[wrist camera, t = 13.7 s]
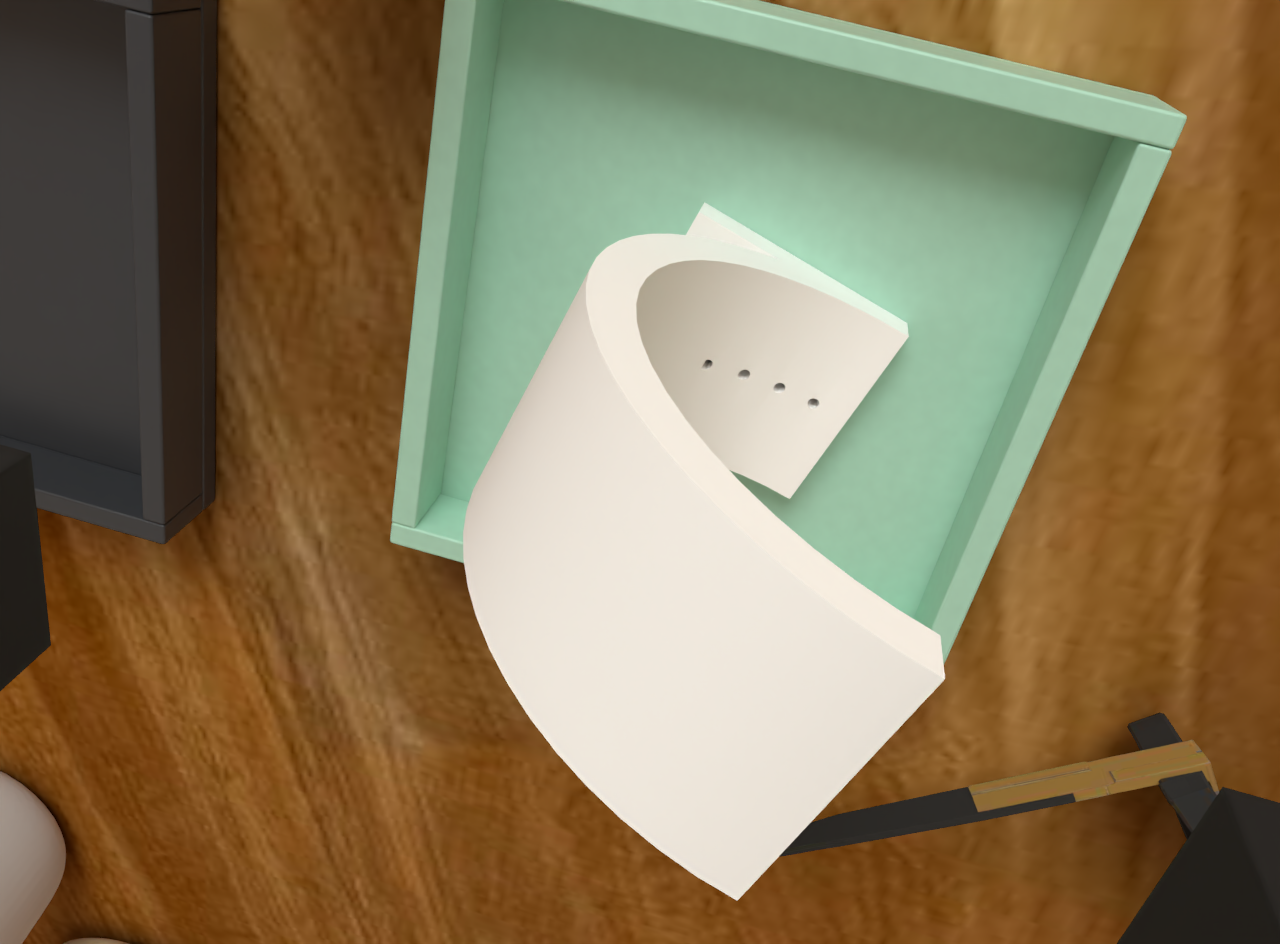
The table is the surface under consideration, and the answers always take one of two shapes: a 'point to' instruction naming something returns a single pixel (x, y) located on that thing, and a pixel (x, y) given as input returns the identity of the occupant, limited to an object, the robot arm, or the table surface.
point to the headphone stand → (693, 548)
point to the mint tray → (793, 220)
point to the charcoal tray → (110, 256)
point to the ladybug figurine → (94, 941)
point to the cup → (26, 859)
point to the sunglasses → (1038, 792)
